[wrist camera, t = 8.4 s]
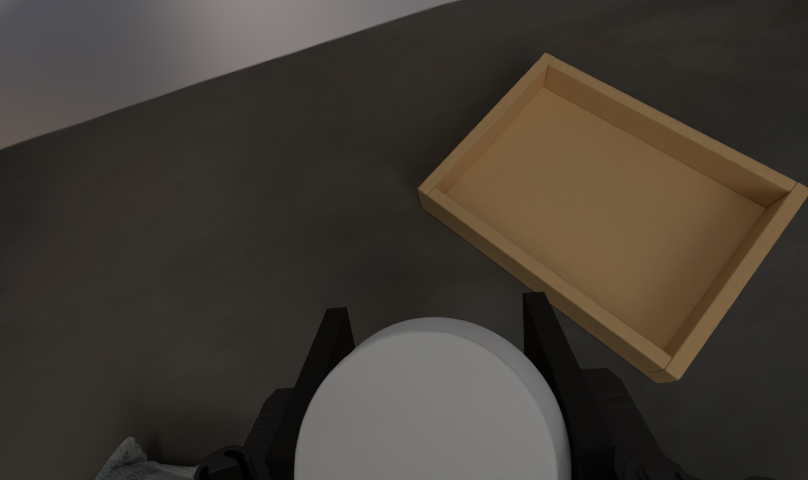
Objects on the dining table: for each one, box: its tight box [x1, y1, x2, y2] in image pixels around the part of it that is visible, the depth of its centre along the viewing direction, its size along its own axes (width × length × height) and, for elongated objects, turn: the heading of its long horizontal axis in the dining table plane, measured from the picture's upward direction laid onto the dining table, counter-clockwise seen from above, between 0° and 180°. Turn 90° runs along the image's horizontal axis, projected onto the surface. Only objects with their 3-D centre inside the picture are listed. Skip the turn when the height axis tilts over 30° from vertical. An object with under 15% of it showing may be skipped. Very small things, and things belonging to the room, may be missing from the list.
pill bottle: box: [294, 317, 572, 480], centre depth 13 cm, size 6×6×12 cm
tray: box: [418, 53, 808, 383], centre depth 27 cm, size 18×14×3 cm
